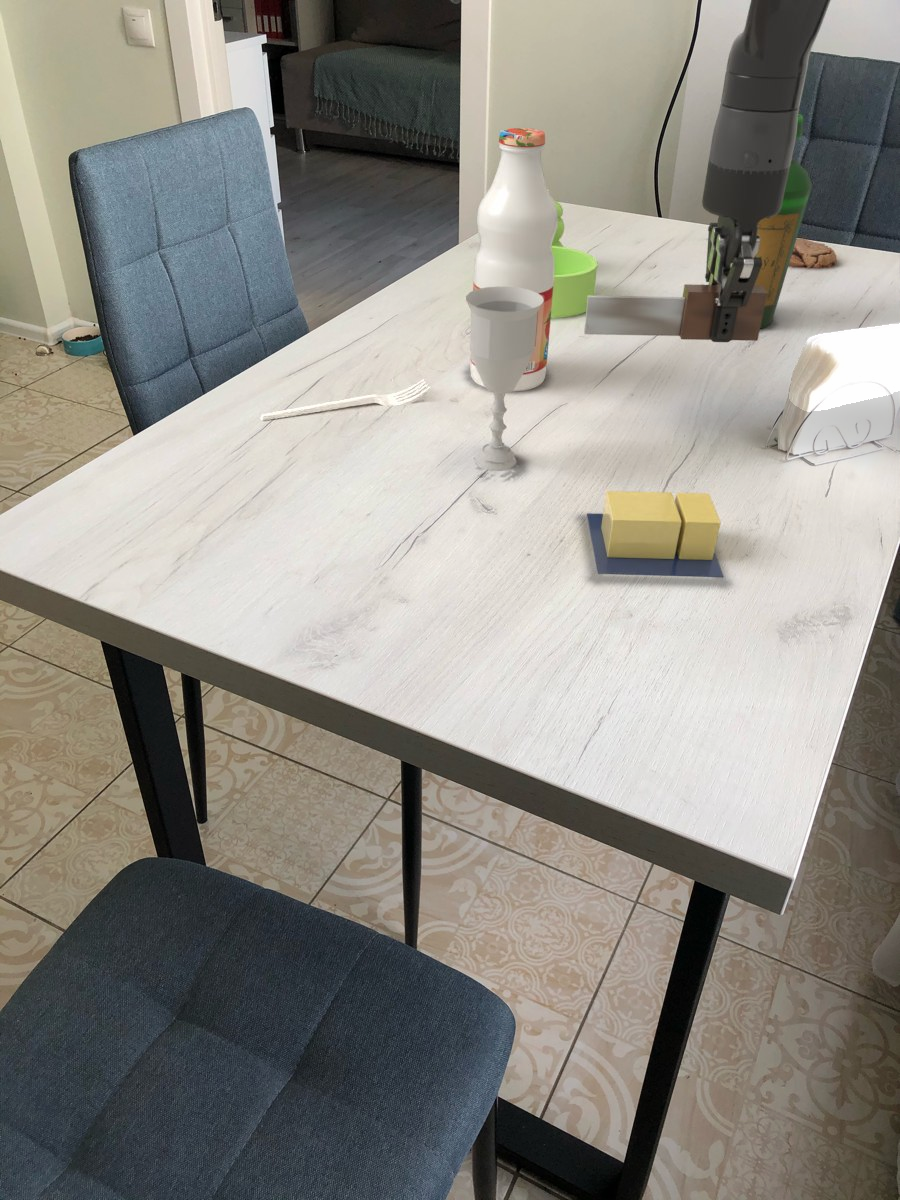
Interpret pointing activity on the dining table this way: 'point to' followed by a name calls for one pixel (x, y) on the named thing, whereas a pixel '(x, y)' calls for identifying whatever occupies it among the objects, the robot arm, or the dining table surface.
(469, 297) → the chalice
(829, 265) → the cookie
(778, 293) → the bottle
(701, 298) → the knife
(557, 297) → the food container
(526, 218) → the fruit juice
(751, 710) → the dining table surface
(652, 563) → the butter dish
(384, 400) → the fork
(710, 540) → the butter slice
